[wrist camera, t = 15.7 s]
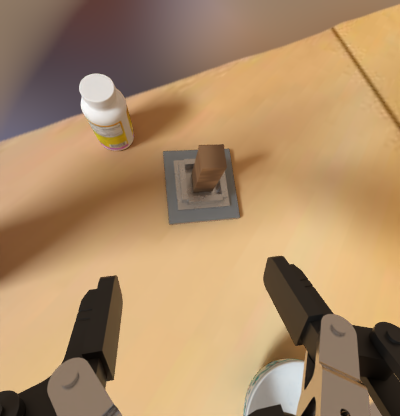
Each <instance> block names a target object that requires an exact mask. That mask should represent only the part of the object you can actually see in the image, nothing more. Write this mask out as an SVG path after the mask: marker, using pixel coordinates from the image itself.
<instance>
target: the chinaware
mask: <svg viewBox="0 0 400 416" xmlns="http://www.w3.org/2000/svg"><path fill="white" fill-rule="evenodd" d="M303 371H304V361H303V360H299V359H280V360H276V361H273V362H271V363H269V364H267V365H266V366H264V367H263V368H262V369H261V370H260V371H259V372H258V373H257V374H256V375H255V377H254V378H253V380H252V381H251V383H250V385H249V388H248V390H247V394H246V398H245V403H244V413H243V416H248V415H249V414H251V413H252V412H254V411H255V410H257V409H261V408H266V407H270V406H274V405H279V404H281V407H282V409H283V412H287V413H290V414H294V415H296V412H297V406H298V402H299V399H300V395H301V389H302V380H303Z"/></svg>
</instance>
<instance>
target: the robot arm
mask: <svg viewBox="0 0 400 416" xmlns="http://www.w3.org/2000/svg"><path fill="white" fill-rule="evenodd" d="M263 280H264V285H265V288H266V290H267V291H268V293H269V295H270V297H271V299H272V301H273V303H274V305H275V307H276V309H277V311H278V313H279V315H280V317H281V319H282V321H283V322H284V324H285V326H286V328H287V330H288V332H289V334H290V336H291V338H292V340H293V342H294V344H295V346H298V345H303V344H304V346H305V348H306V353H305V361H304V371H303V380H302V389H301V395H300V399H299V402H298V406H297V412H296V415H294V414H290V413H287V412H283V409H282V407H281V404H279V405H274V406H270V407H266V408H261V409H257V410H255V411H254V412H252V413H251V414H249V415H248V416H371V414H370V404H369V395H370V397H371V398H372V400H373V401H374V403H375V405H376V406H377V408H378V410H379V411H380V413H381V414H382V416H400V328H399V327H397V326H395V325H393V324H391V323H387V322H379V323H377V324H376V325H375V327H374V328H367V327H361V326H355V325H351V324H350V323H349V322H348V321H347V320H346V319H344V318H343V317H341V316H338V315H335V314H333V312H332V311H331V310H330V308H329V307H328V306H327V304H326V303H325V302H324V300H323V299H322V298H321V296H320V295H319V293H318V292H317V291H316V289H315V288H314V287H313V286H312V284H311V283H310V281H309V280H308V278H307V277H306V276H305V274H304V273H303V272H302V270H300V269H299V268H298V267H296V266H295V265H294V264H290V265H289V263H288V262H287V260H286V259H285V258H284V257H283V256H275V257H269V258H268V259H267V263H266V268H265V272H264V277H263ZM122 305H123V301H122V293H121V289H120V285H119V281H118V277H117V276H107V277H101V278H100V280H99V283H98V287H97V289H93V290H89V291H88V292H87V294H86V295H85V296H84V298H83V299H82V301H81V304H80V307H79V313H78V314H77V318H76V322H75V324H74V328H73V331H72V334H71V338H70V341H69V345H68V348H67V351H66V355H65V357H64V360H63V362H62V364H61V365H60V366H59V367H58V368H57V369H56V370H55V371H54V373H53V374H52V375H51V376H50V377H49V378H47V379H46V380H45V381H43V382H41V383H39V384H37V385H35V386H33V387H31V388H29V389H27V390H25V391H23V392H21V393H19V394H17V393H15V392H14V391H2V392H0V416H122V414H121V413H120V411H119V410H118V408H117V407H116V406H115V405H114V403H113V402H112V400H111V399H110V397H109V395H108V394H107V392H106V391H105V387H106V381H110V380H114V374H115V365H116V357H117V348H118V340H119V332H120V323H121V315H122ZM395 375H396V376H397V377H396V376H395ZM398 379H399V380H398ZM361 382H362V383H361ZM368 393H369V394H368Z"/></svg>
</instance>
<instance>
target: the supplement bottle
mask: <svg viewBox="0 0 400 416" xmlns="http://www.w3.org/2000/svg"><path fill="white" fill-rule="evenodd" d="M79 90H80V93H81V95H82V99H81V108H82V111H83V113H84V115H85V117H86V119H87V120H88V122H89V124H90V126H91V127H92V129H93V131H94V133H95V134H96V136H97V138H98V140H99V141H100V143H101V144H102V145H103V146H104V147H105V148H107V149H109V150H112V151H120V150H124V149H126V148H127V147H129V146H130V145H131V143H132V142H133V139H134V130H133V126H132V123H131V119H130V115H129V112H128V108H127V104H126V100H125V98H124V96H123V95H122V93H121V92H120V91H119V90H118V89H116V88H115V86H114V84H113V82H112V80H111V79H110V78H109V77H107V76H105V75H102V74H91V75H88V76H86V77H85V78H84V79H83V80H82V81H81V82H80V86H79Z"/></svg>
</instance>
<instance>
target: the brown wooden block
mask: <svg viewBox="0 0 400 416" xmlns="http://www.w3.org/2000/svg"><path fill="white" fill-rule="evenodd" d="M226 168H227V164H226V157H225V151H224V144H222V145H199V148H198V152H197V156H196V159H195V163H194V167H193V171H192V174H191V176H192V185H193V193H199V192H212V191H213V189H214V188H215V186H216V184H217V183H218V181H219V180H220V178H221V176H222V175H223V173H224V171H225V170H226Z"/></svg>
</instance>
